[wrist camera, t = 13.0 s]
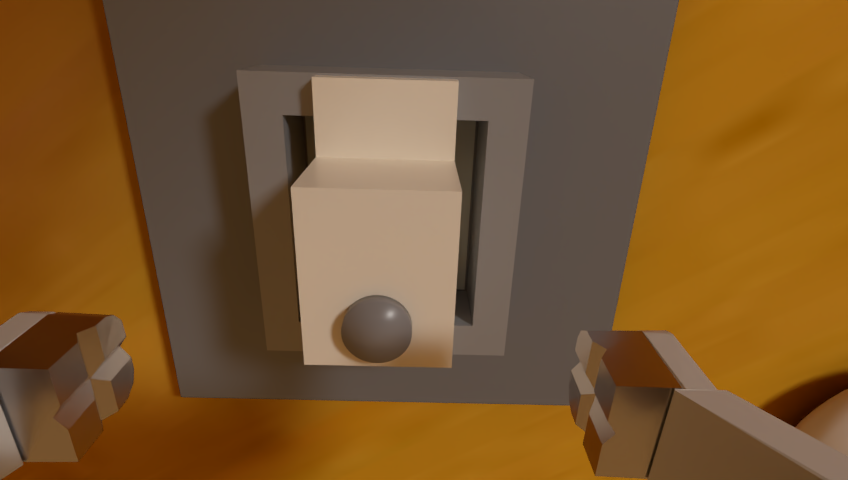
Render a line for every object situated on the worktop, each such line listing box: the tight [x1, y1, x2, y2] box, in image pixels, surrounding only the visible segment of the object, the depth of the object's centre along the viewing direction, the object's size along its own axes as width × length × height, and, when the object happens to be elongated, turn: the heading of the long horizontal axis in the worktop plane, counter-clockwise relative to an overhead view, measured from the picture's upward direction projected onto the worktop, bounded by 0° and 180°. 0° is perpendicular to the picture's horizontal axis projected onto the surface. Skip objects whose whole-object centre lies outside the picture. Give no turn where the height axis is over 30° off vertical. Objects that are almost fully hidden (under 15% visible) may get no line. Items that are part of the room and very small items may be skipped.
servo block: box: [291, 75, 462, 368], centre depth 15 cm, size 9×4×6 cm, turn 178°
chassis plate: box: [103, 0, 679, 405], centre depth 18 cm, size 18×18×4 cm
